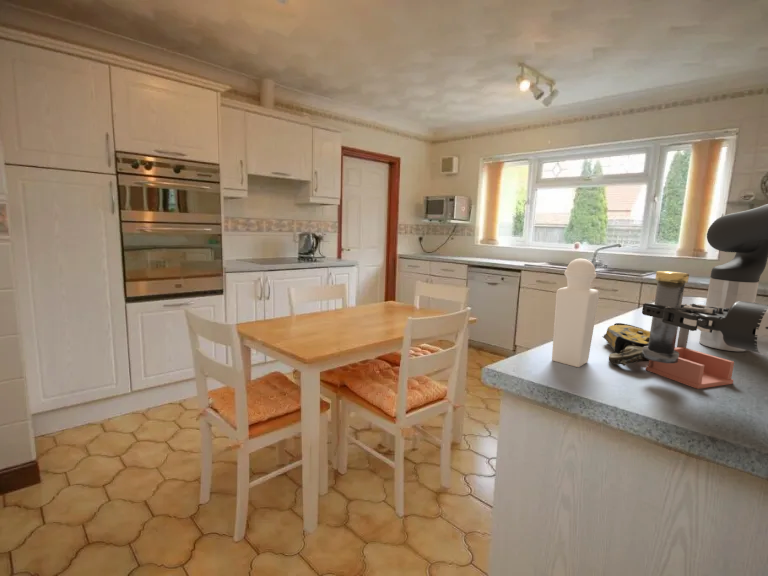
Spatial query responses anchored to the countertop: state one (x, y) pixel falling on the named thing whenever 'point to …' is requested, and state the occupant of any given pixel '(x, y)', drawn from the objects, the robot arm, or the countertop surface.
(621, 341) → the pulley block
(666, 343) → the tie-down post
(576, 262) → the white square bottle
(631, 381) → the countertop surface
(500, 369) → the countertop surface
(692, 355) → the keeper bracket
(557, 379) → the countertop surface
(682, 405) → the countertop surface
